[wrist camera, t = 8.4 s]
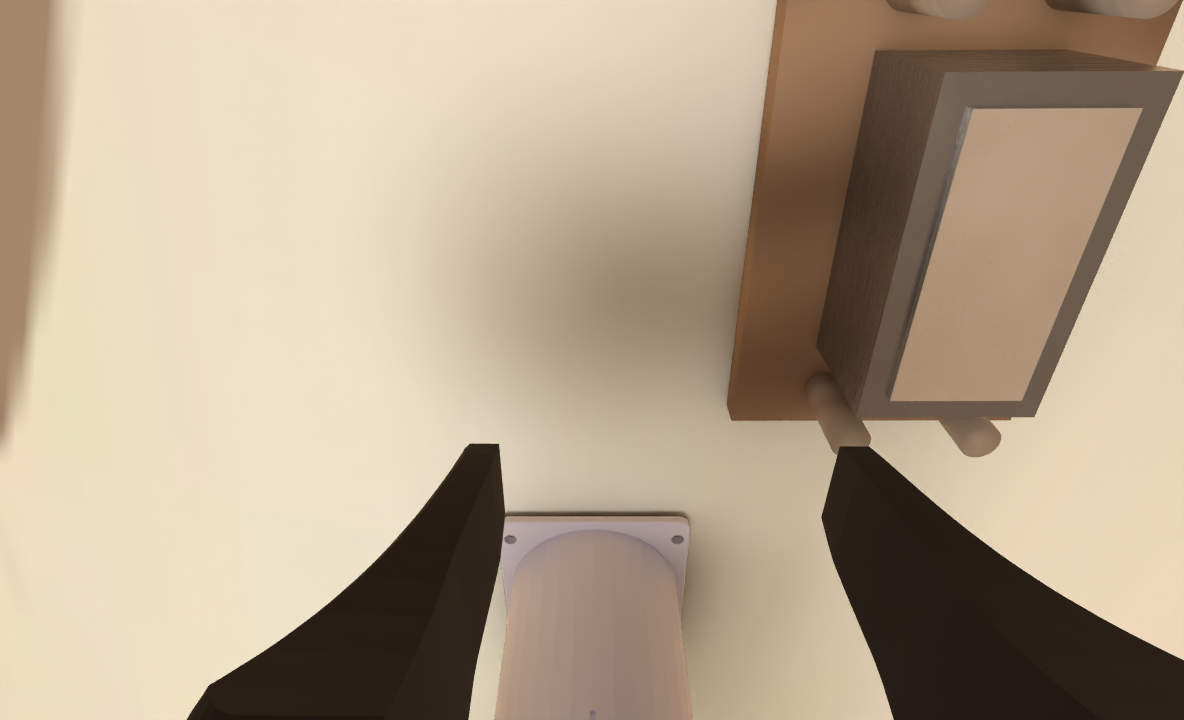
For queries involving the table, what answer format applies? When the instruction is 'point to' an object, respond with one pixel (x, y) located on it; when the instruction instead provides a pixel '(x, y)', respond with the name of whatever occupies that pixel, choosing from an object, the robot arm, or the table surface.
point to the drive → (980, 222)
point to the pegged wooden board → (824, 161)
